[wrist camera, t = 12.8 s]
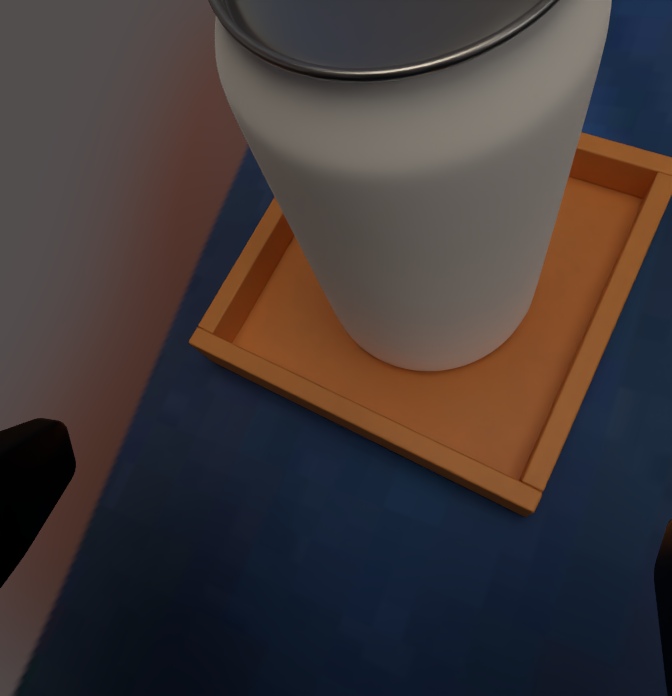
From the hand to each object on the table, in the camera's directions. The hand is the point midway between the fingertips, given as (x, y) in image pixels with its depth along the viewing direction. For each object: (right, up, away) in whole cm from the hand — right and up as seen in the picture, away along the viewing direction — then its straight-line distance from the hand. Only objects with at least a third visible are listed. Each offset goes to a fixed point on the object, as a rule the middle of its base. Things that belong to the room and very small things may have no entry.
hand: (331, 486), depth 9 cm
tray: (+3, +4, +11) cm, 12 cm away
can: (+3, +4, +11) cm, 12 cm away
